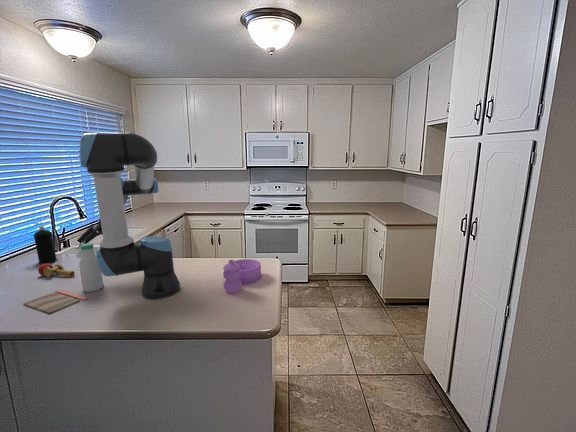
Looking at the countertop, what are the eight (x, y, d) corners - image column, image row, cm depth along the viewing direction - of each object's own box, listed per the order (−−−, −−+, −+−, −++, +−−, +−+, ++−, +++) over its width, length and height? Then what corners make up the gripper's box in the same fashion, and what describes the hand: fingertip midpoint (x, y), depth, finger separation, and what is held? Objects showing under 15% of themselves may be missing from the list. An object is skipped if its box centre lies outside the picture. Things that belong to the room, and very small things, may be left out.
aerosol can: (49, 264, 170) (43, 228, 166) (34, 264, 170) (27, 228, 166) (60, 259, 178) (54, 224, 174) (46, 259, 178) (39, 224, 174)
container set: (235, 270, 154) (233, 244, 152) (265, 272, 151) (264, 246, 148) (212, 293, 130) (209, 262, 128) (247, 296, 127) (245, 265, 124)
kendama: (80, 275, 156) (49, 269, 159) (77, 265, 154) (46, 258, 157) (67, 284, 149) (35, 277, 152) (64, 273, 147) (31, 266, 150)
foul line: (87, 299, 128) (87, 298, 127) (84, 300, 126) (84, 299, 126) (59, 290, 136) (59, 289, 136) (55, 291, 135) (55, 291, 135)
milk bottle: (107, 287, 139) (100, 243, 135) (88, 293, 132) (81, 248, 128) (98, 283, 143) (91, 240, 139) (79, 289, 137) (72, 245, 132)
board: (80, 301, 126) (79, 299, 126) (49, 314, 116) (49, 312, 116) (54, 293, 134) (54, 292, 134) (23, 304, 124) (23, 303, 124)
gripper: (139, 220, 151) (123, 261, 140) (91, 220, 154) (72, 260, 142) (130, 211, 145) (114, 253, 133) (81, 212, 148) (60, 253, 136)
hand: (92, 257), depth 138 cm, fingers open, 13 cm apart
